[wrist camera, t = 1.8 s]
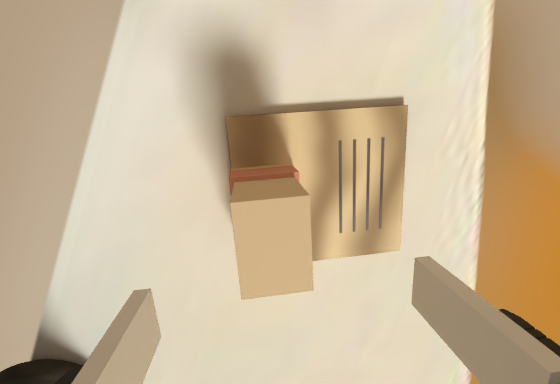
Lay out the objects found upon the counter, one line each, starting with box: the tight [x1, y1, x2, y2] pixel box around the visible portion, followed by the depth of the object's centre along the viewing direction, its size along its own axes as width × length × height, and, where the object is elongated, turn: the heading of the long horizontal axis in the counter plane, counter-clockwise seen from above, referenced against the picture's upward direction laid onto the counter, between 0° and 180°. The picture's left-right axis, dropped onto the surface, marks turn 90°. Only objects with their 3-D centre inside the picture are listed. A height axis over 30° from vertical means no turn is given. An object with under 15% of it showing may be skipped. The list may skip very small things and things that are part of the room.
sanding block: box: [229, 164, 314, 300], centre depth 24 cm, size 6×8×10 cm
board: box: [226, 105, 408, 261], centre depth 29 cm, size 18×16×1 cm
